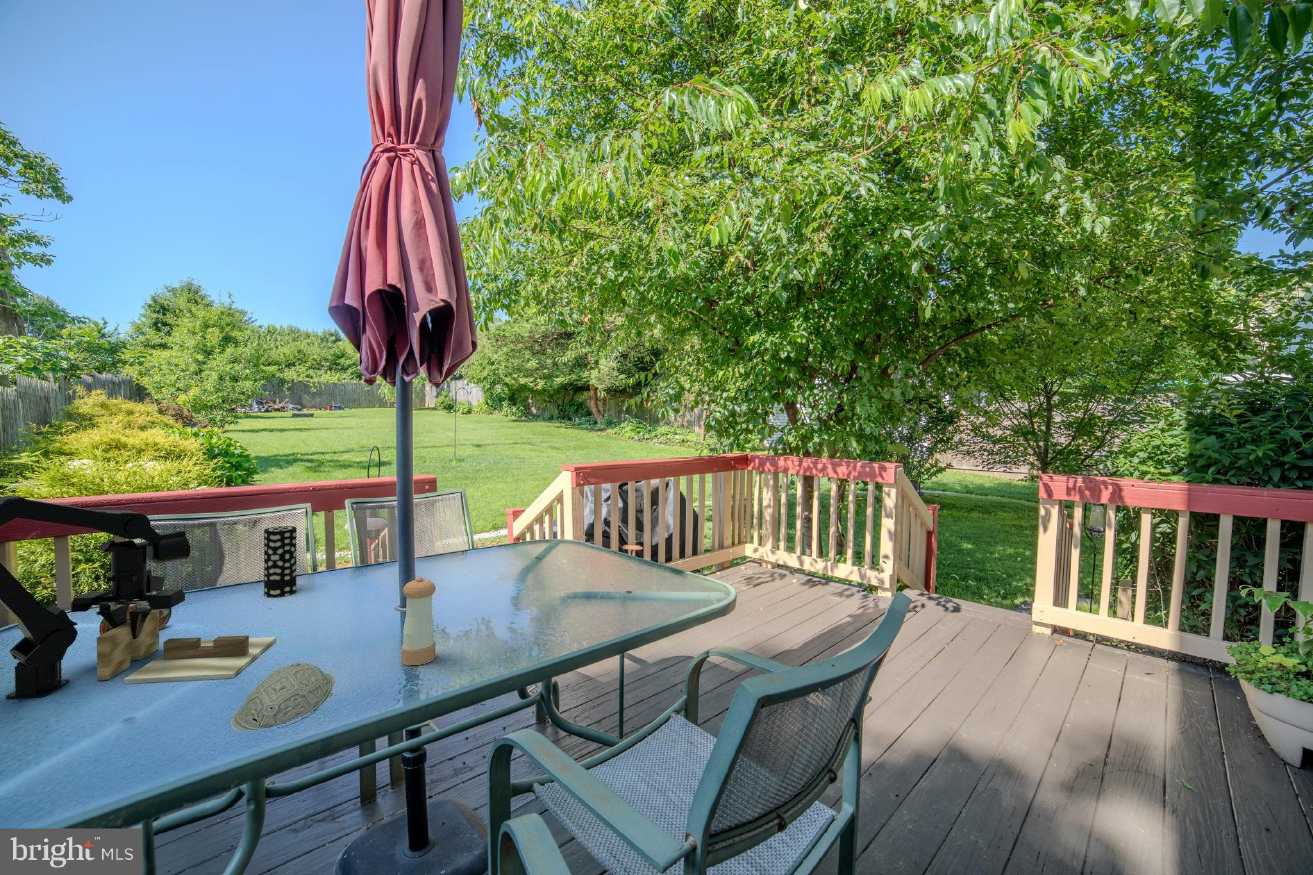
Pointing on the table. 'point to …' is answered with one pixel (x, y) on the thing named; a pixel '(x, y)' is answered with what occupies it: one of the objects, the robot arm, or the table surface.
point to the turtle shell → (284, 697)
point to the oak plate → (126, 646)
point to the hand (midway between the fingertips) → (129, 638)
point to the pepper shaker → (418, 623)
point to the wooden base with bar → (201, 659)
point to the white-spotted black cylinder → (280, 561)
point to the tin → (106, 627)
